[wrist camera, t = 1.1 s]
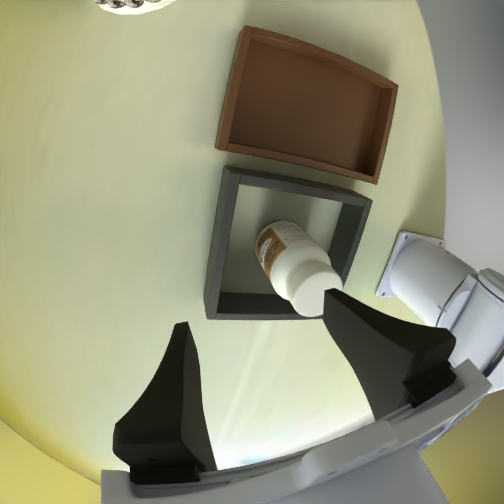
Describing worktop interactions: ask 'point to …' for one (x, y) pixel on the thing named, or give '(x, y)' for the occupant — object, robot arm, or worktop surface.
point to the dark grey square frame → (214, 301)
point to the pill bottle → (296, 266)
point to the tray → (305, 106)
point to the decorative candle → (132, 5)
